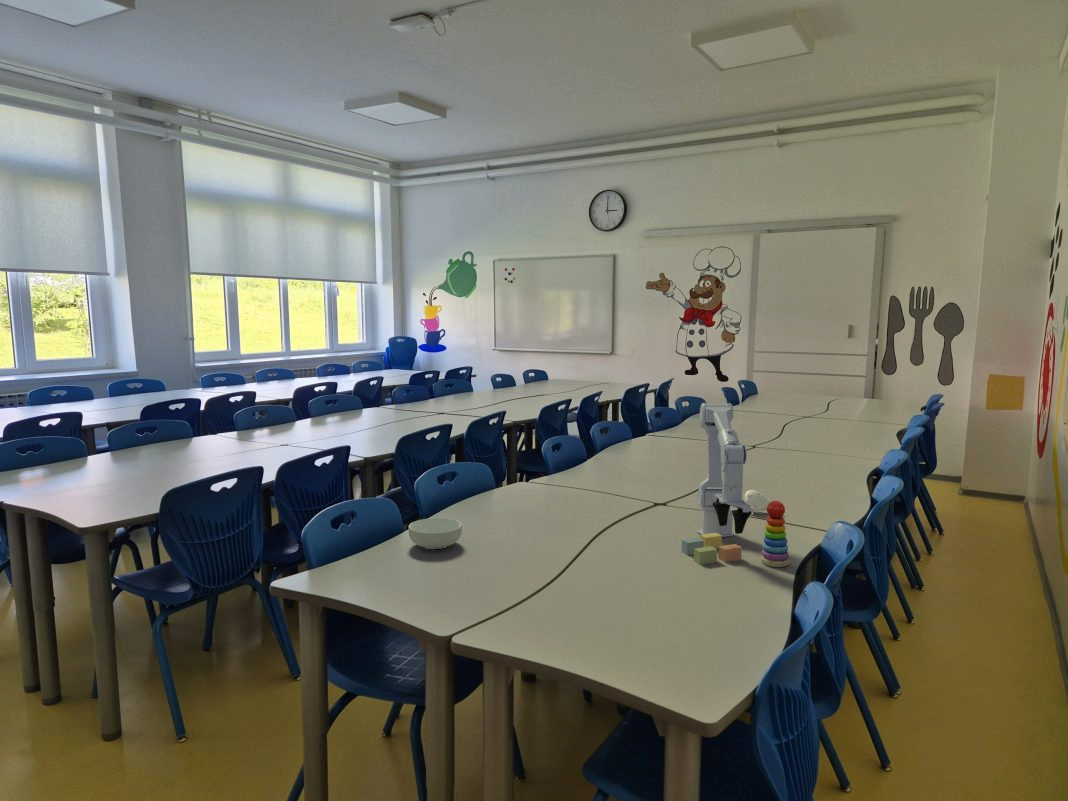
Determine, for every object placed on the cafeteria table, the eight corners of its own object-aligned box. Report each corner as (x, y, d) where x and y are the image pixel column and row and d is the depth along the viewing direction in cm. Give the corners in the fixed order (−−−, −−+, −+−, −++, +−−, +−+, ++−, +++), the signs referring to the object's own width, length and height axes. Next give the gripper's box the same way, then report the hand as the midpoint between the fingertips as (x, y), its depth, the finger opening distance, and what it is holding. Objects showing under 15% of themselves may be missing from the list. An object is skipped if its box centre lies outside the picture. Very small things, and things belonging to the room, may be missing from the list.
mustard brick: (715, 544, 212) (716, 532, 211) (721, 547, 209) (721, 535, 209) (699, 547, 210) (700, 534, 209) (705, 550, 207) (705, 537, 207)
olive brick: (710, 559, 200) (711, 546, 199) (716, 562, 197) (717, 549, 196) (693, 561, 197) (694, 548, 197) (699, 565, 195) (699, 551, 194)
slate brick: (698, 549, 207) (698, 537, 207) (703, 553, 205) (704, 540, 204) (681, 552, 205) (681, 539, 205) (687, 555, 202) (687, 542, 202)
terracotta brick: (734, 556, 201) (735, 544, 201) (741, 560, 199) (741, 547, 198) (718, 559, 199) (718, 546, 199) (724, 562, 197) (724, 549, 196)
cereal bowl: (473, 545, 211) (472, 524, 210) (431, 559, 199) (431, 537, 198) (439, 534, 223) (438, 513, 222) (398, 546, 211) (397, 525, 210)
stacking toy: (788, 560, 198) (791, 499, 196) (789, 569, 191) (792, 506, 188) (760, 557, 201) (763, 496, 198) (760, 566, 193) (763, 503, 191)
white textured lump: (745, 487, 248) (778, 492, 245) (742, 509, 250) (775, 514, 247) (745, 491, 242) (780, 496, 239) (742, 514, 243) (777, 519, 241)
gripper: (706, 480, 201) (705, 523, 203) (736, 492, 188) (735, 538, 190) (725, 478, 204) (724, 521, 206) (757, 489, 190) (755, 535, 192)
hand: (730, 529), depth 198 cm, fingers open, 7 cm apart
